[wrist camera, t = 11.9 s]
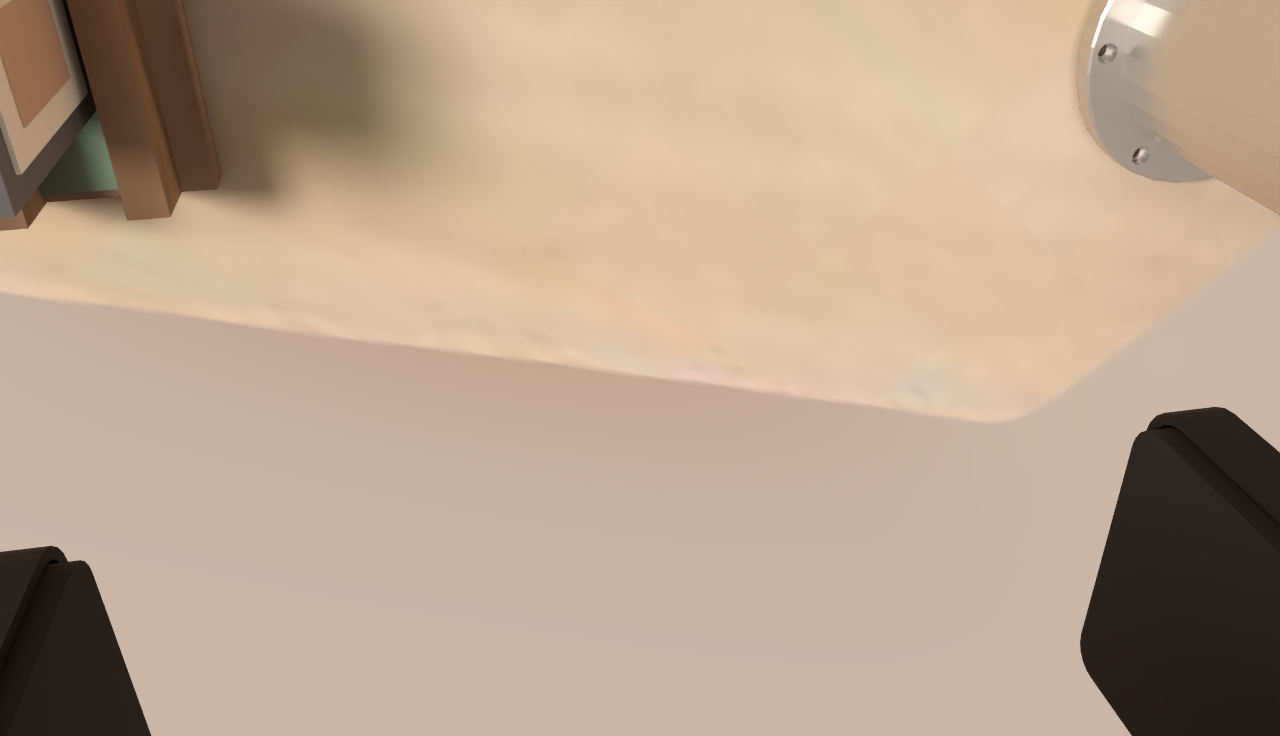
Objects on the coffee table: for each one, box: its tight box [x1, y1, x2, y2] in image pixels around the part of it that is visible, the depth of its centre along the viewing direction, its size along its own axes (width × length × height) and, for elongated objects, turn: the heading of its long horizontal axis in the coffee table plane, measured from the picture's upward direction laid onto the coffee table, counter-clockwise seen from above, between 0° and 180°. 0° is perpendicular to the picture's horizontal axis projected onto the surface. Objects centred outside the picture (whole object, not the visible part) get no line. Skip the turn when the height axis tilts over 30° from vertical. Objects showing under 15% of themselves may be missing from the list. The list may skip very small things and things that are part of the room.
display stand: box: [0, 0, 221, 231], centre depth 38 cm, size 9×14×4 cm, turn 1°
